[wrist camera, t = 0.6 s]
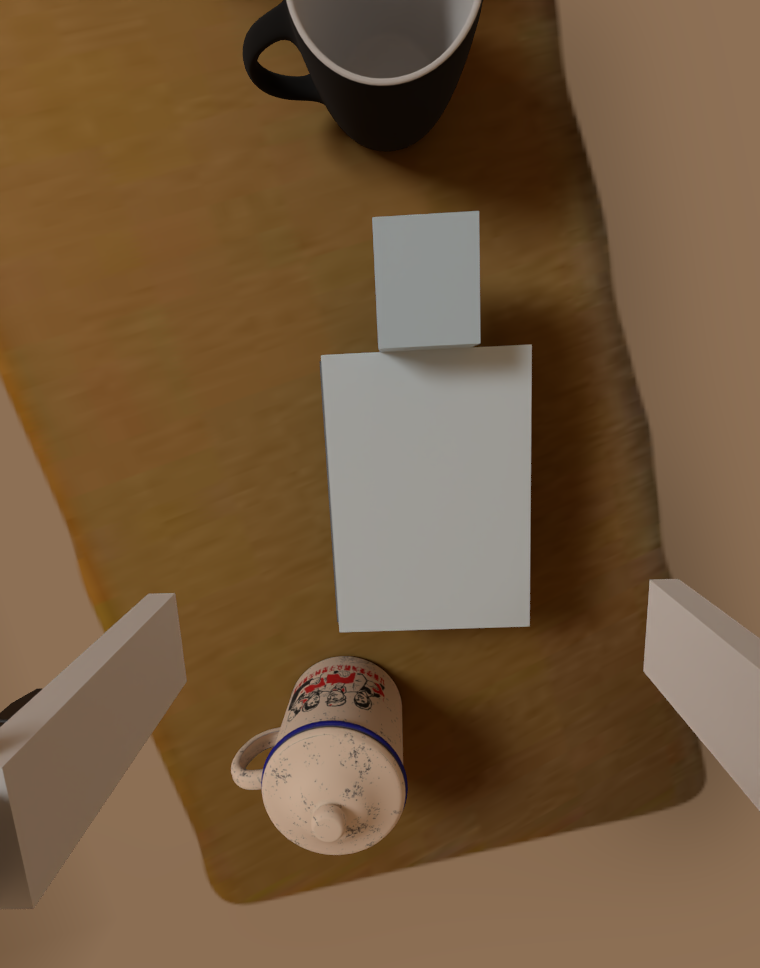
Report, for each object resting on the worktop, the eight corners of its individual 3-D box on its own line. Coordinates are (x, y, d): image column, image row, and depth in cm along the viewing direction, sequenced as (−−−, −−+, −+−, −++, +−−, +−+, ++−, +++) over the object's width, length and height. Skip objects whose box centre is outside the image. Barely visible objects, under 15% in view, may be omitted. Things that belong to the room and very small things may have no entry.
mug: (449, -3, 31) (474, -180, 22) (468, 159, 33) (499, 65, 23) (255, 37, 32) (192, -117, 22) (282, 193, 34) (236, 116, 24)
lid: (317, 246, 29) (302, 221, 25) (525, 235, 29) (550, 206, 24) (342, 620, 34) (333, 659, 29) (523, 614, 33) (544, 653, 29)
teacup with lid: (394, 642, 40) (394, 748, 28) (413, 747, 41) (420, 888, 30) (241, 665, 40) (180, 777, 29) (266, 767, 42) (217, 911, 31)
